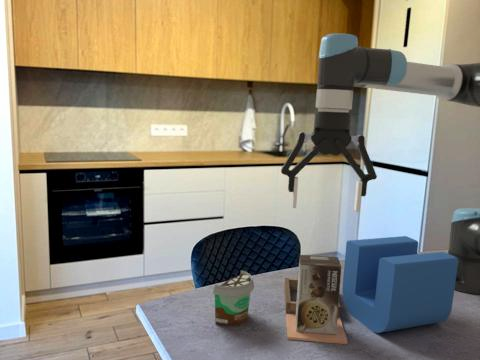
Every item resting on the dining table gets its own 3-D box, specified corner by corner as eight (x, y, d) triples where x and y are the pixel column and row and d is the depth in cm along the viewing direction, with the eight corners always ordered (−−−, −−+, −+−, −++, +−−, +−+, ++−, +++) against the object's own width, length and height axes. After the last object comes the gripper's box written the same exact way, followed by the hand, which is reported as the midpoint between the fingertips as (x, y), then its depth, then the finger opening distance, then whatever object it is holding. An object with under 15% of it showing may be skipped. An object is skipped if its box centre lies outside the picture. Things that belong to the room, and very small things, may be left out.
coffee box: (333, 321, 108) (339, 256, 105) (336, 335, 102) (342, 266, 99) (294, 318, 109) (299, 253, 106) (295, 332, 103) (300, 263, 100)
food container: (234, 334, 101) (236, 292, 100) (211, 326, 104) (213, 285, 103) (261, 314, 112) (264, 275, 110) (240, 307, 115) (242, 269, 113)
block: (340, 307, 118) (346, 239, 115) (396, 299, 124) (404, 235, 121) (386, 342, 101) (395, 265, 98) (448, 331, 108) (458, 258, 105)
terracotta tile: (340, 320, 110) (340, 318, 110) (347, 344, 100) (347, 341, 100) (285, 316, 111) (286, 313, 111) (287, 339, 100) (287, 336, 100)
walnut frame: (331, 291, 127) (332, 281, 127) (339, 318, 111) (340, 306, 111) (284, 287, 128) (284, 277, 127) (285, 314, 112) (286, 302, 112)
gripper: (388, 113, 100) (379, 208, 103) (274, 107, 101) (268, 201, 105) (398, 114, 92) (387, 216, 96) (274, 108, 94) (268, 209, 98)
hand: (325, 208), depth 101 cm, fingers open, 13 cm apart
